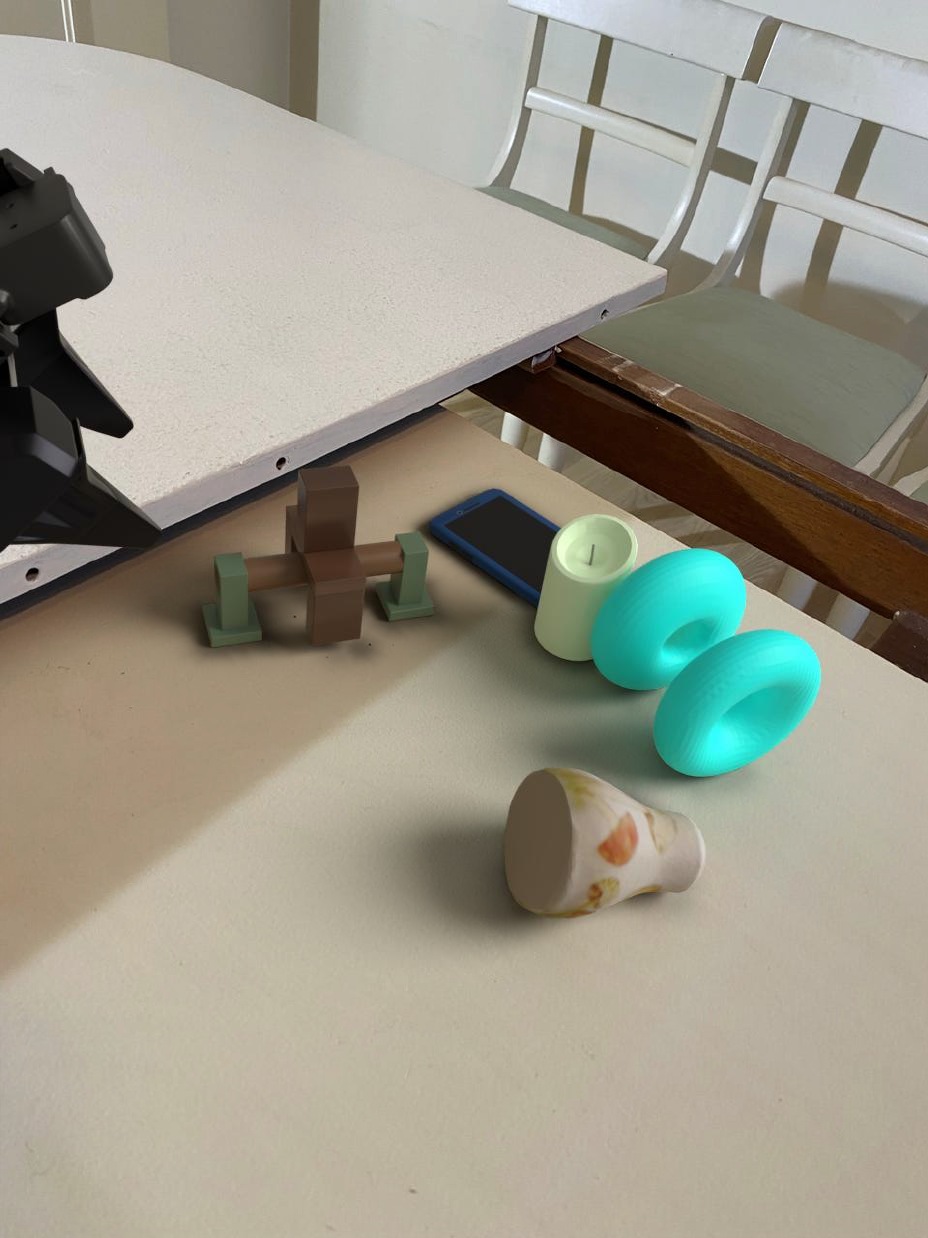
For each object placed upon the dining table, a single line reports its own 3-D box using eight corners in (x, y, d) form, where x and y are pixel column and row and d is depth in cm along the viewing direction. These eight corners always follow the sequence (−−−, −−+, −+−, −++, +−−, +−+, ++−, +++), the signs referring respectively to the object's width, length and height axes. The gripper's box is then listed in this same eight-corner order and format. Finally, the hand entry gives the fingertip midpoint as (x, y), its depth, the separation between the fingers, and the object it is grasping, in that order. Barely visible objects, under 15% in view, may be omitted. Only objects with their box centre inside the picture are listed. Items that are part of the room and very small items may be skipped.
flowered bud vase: (725, 928, 52) (700, 869, 44) (538, 958, 54) (481, 907, 46) (696, 790, 56) (668, 712, 48) (523, 823, 58) (468, 754, 50)
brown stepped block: (360, 639, 62) (373, 513, 55) (311, 646, 61) (318, 519, 54) (330, 562, 67) (338, 438, 60) (284, 568, 66) (287, 442, 59)
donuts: (651, 805, 57) (704, 679, 50) (566, 680, 63) (603, 553, 56) (793, 762, 60) (860, 640, 54) (699, 648, 67) (748, 526, 60)
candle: (571, 674, 64) (596, 580, 58) (517, 626, 66) (536, 530, 60) (627, 639, 66) (656, 546, 60) (573, 593, 68) (596, 499, 62)
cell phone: (576, 636, 66) (578, 627, 65) (423, 528, 72) (424, 520, 72) (642, 590, 70) (645, 581, 70) (492, 492, 76) (494, 484, 76)
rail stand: (211, 648, 61) (209, 584, 58) (202, 614, 63) (199, 550, 60) (433, 615, 66) (443, 554, 62) (418, 585, 68) (427, 524, 64)
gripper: (-35, 213, 31) (310, 484, 42) (-50, 36, 43) (220, 282, 54) (-259, 458, 33) (124, 652, 44) (-212, 223, 46) (78, 422, 57)
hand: (141, 482), depth 50 cm, fingers open, 9 cm apart
